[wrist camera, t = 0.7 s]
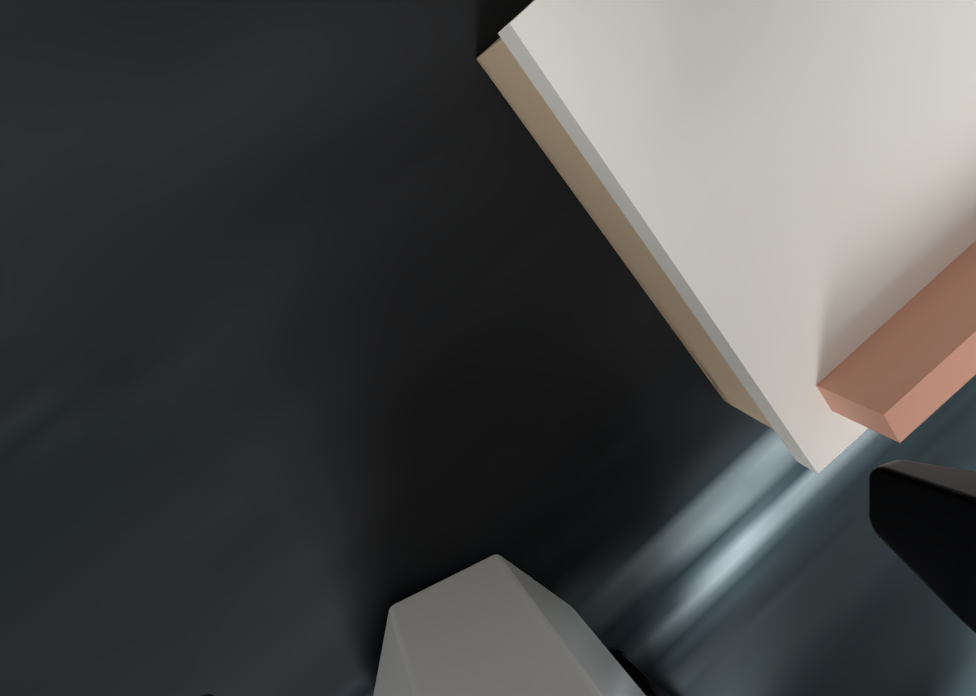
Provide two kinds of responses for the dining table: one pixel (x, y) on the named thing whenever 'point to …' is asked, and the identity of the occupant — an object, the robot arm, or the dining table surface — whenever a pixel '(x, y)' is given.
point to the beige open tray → (612, 222)
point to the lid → (790, 187)
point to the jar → (494, 641)
